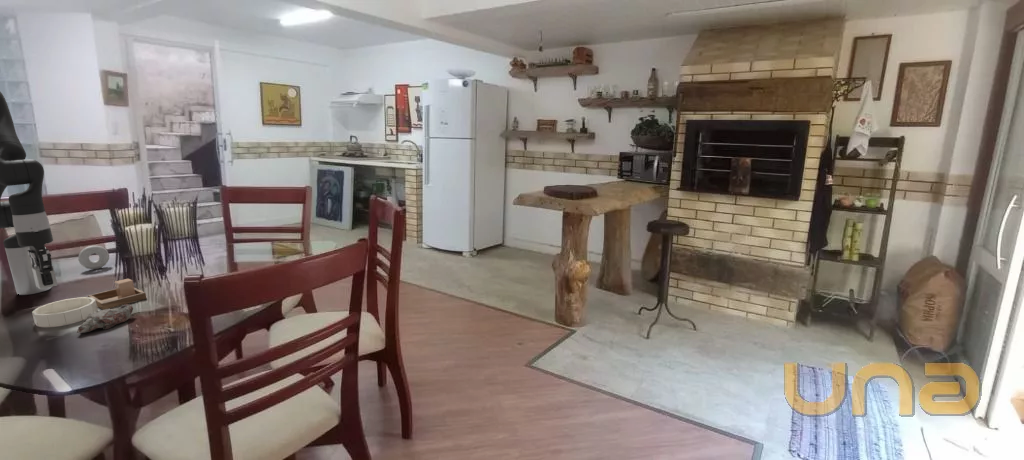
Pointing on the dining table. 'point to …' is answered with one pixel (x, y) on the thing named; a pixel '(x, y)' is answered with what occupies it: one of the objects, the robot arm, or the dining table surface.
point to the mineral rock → (106, 318)
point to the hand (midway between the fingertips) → (46, 283)
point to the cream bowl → (64, 312)
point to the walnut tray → (115, 298)
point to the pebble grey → (39, 280)
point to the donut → (90, 250)
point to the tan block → (124, 288)
